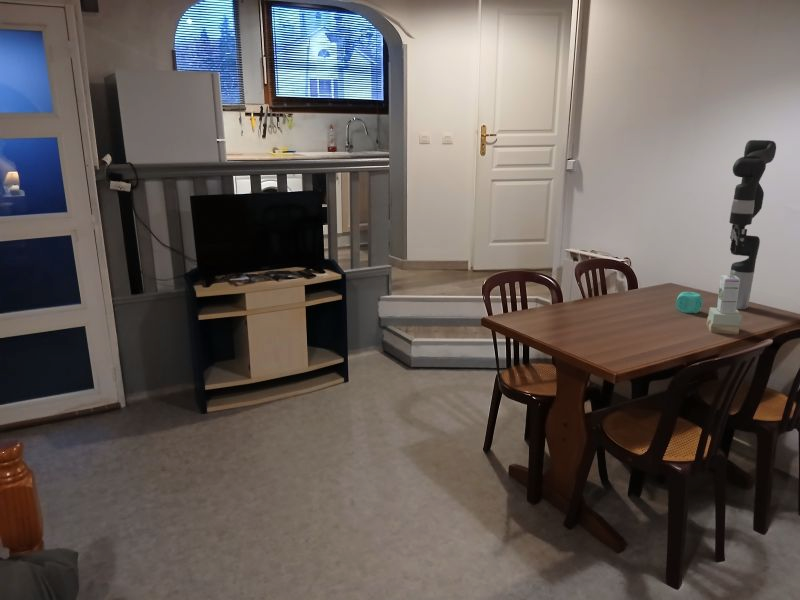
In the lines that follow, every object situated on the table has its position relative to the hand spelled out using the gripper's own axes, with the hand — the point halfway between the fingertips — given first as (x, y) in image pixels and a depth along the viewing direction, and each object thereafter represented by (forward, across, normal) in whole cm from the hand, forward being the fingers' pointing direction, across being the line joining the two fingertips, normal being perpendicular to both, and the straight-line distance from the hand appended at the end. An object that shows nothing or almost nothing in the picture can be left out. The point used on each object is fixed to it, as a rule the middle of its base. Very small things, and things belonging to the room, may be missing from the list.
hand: (735, 252), depth 229 cm
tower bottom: (+32, 0, 0) cm, 32 cm away
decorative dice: (+32, +24, +10) cm, 41 cm away
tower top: (+28, 0, 0) cm, 28 cm away
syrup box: (+24, 0, 0) cm, 24 cm away
